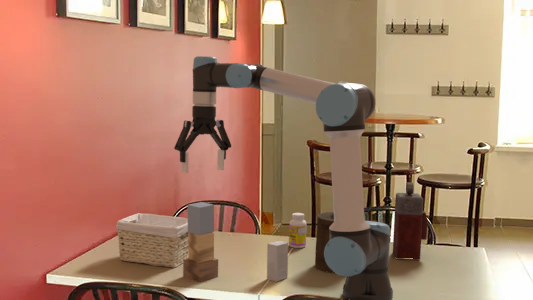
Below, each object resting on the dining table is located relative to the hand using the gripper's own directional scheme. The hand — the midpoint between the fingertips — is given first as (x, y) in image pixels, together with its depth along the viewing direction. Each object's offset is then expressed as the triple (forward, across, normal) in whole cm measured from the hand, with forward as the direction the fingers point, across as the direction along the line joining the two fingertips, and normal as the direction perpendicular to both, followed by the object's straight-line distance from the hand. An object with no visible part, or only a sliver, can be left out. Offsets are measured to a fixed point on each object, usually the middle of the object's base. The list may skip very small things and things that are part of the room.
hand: (203, 171), depth 218 cm
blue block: (+20, +1, 0) cm, 20 cm away
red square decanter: (+35, -78, +22) cm, 88 cm away
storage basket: (+35, +3, -24) cm, 43 cm away
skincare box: (+35, -19, +16) cm, 43 cm away
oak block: (+29, +1, +1) cm, 29 cm away
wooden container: (+35, -45, +17) cm, 59 cm away
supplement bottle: (+35, -52, -12) cm, 64 cm away
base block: (+35, +1, +1) cm, 35 cm away
